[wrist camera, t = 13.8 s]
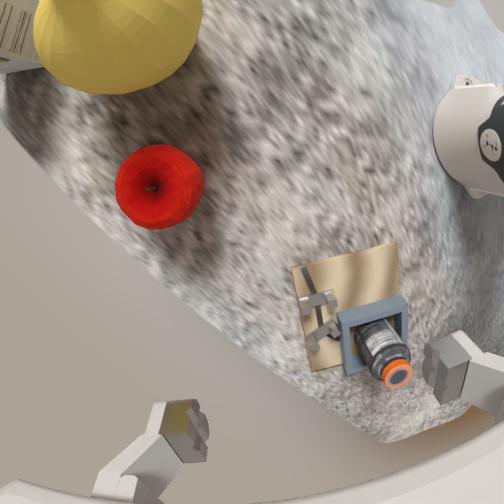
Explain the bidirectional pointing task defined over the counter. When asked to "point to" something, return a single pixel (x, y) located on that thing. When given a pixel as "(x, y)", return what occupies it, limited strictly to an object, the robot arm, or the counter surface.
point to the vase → (115, 41)
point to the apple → (159, 186)
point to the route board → (345, 293)
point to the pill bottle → (384, 352)
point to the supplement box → (17, 36)
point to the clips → (327, 327)
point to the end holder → (368, 314)
